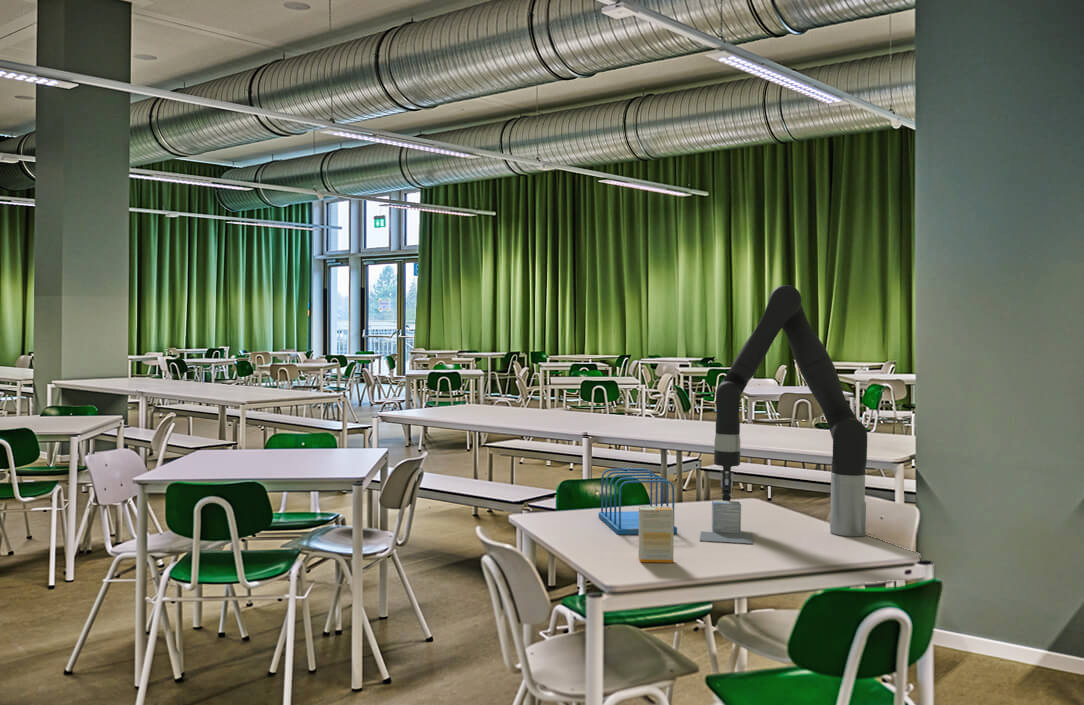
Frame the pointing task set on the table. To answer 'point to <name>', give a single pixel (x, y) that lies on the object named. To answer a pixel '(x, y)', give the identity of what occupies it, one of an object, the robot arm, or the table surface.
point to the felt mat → (726, 537)
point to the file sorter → (620, 520)
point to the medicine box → (726, 517)
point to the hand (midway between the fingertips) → (726, 507)
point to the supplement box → (656, 534)
